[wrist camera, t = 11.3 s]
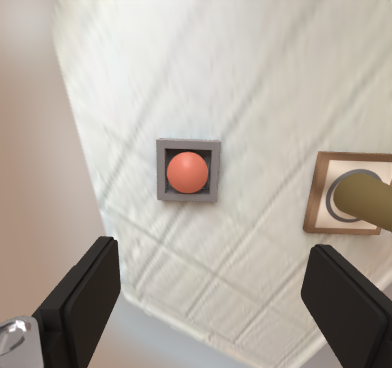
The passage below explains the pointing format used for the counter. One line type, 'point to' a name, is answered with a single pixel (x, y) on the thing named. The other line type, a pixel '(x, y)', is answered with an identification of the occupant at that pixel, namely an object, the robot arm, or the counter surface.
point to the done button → (187, 172)
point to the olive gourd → (365, 199)
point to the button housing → (162, 189)
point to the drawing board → (327, 182)
